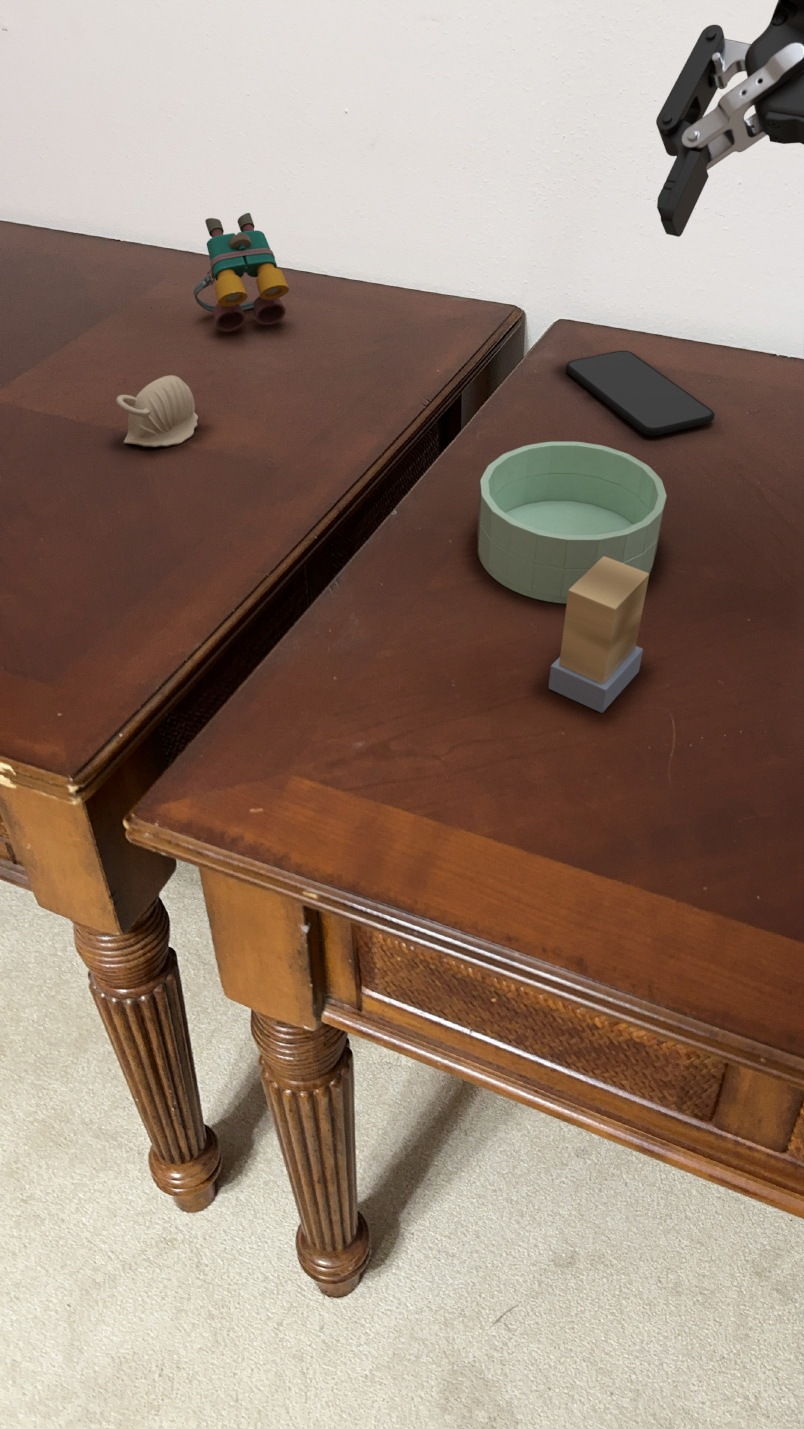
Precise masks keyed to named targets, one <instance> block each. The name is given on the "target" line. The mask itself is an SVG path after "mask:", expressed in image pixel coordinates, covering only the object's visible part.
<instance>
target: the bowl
mask: <svg viewBox="0 0 804 1429" xmlns="http://www.w3.org/2000/svg"><path fill="white" fill-rule="evenodd" d="M478 495H479V496H478V515H477V533H476V534H477V535H476V537H477V539H476V540H477V545H476V546H477V548H476V549H477V556H478V558H479V561H480V563H481V565H482V566H483V568H484V569H485V571H486V572H487V573H488V574H489V576H490V577H492V578H493V579H494V580H495V581H496V582H498V583H499V584H500V585H501V586H504V587H506V588H507V589H509V590H510V591H513V592H515V593H517V594H520V595H521V596H525V597H529V598H531V599H534V600H539V601H542V602H548V603H555V604H566V605H567V598H568V590H569V589H570V588H571V587H572V586H573V585H574V584H575V583H576V582H577V581H578V580H579V579H580V578H581V577H582V576H583V575H584V574H586V573H587V572H588V571H589V570H590V569H591V568H592V567H593V566H594V565H595V564H596V563H597V562H598V561H599V560H600V559H601V558H602V557H603V556H605V557H608V558H610V559H613V560H615V561H618V562H621V563H623V564H626V565H628V566H631V567H634V568H636V569H639V570H641V571H644V572H646V573H649V575H650V574H651V572H652V569H653V567H654V563H655V558H656V555H657V550H658V545H659V540H660V534H661V530H662V525H663V524H662V523H663V518H664V513H665V507H666V503H667V497H668V495H667V492H666V489H665V486H664V483H663V480H662V478H660V476H659V475H658V474H657V473H656V472H655V471H654V470H653V469H652V468H651V467H650V465H647V464H646V463H645V462H644V461H641V460H640V459H638V458H636V457H634V456H633V455H631V454H630V453H626V452H623V451H621V450H617V449H615V448H612V447H609V446H606V445H602V444H595V443H589V442H583V441H544V442H537V443H532V444H526V445H523V446H521V447H518V448H517V447H516V448H515V449H512V450H510V451H507V452H505V453H502V454H501V455H500V456H499V457H497V458H496V459H494V460H493V461H492V462H491V463H489V464H488V465H487V466H486V469H485V470H484V472H483V474H482V475H481V478H480V481H479V494H478Z"/></svg>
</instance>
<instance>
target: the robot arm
mask: <svg viewBox="0 0 804 1429" xmlns="http://www.w3.org/2000/svg"><path fill="white" fill-rule="evenodd" d="M742 72H746V73H745V74H746V77H747V78H745V79H744V80H743V81H741V82H740V83H738V84H737V85H735V86H734V87H733V88H731V89H730V90H729V91H728V92H726V93H724V94H723V95H722V96H721V97H720V98H719V99H718V102H717V105H716V106H715V108H714V109H712V110H711V111H710V112H708V113H707V114H706V112H707V110H708V108H709V106H710V104H711V103H712V100H713V99H714V97H715V95H716V93H717V92H718V89H719V90H725V89H726V88H727V86H728V84H729V82H730V81H731V80H732V78H733V77H735V75H737V74H738V73H742ZM751 107H754V112H755V113H753V114H752V115H751V116H749V117H747V118H746V119H745V115H746V113H747V112H748V111H749V110H750V108H751ZM705 114H706V115H705ZM655 124H656V127H657V130H658V132H659V136H660V138H661V139H660V140H661V141H662V144H663V147H664V150H665V153H666V154H667V155H669V156H670V157H675V160H674V162H673V164H672V166H671V168H670V170H669V173H668V175H667V177H666V180H665V182H664V184H663V185H662V188H661V190H660V192H659V194H658V197H657V203H656V208H657V211H658V213H659V216H660V222H661V225H662V227H663V229H664V232H665V234H666V235H669V236H674V237H677V238H680V237H681V236H682V235H683V233H684V231H685V229H686V227H687V224H688V222H689V221H690V218H691V216H692V214H693V211H694V210H695V207H696V205H697V203H698V200H699V198H700V196H701V194H702V192H703V190H704V188H705V186H706V183H707V182H708V179H709V173H708V171H709V170H710V169H711V168H712V167H714V166H715V165H717V164H718V163H720V162H721V161H723V160H724V159H726V158H727V157H728V156H730V155H731V154H733V153H742V152H745V151H746V150H747V149H749V148H750V147H752V146H754V145H755V144H756V143H757V142H759V141H761V140H762V139H764V138H765V137H766V136H768V139H769V142H770V143H777V144H780V145H781V144H782V145H787V144H801V145H804V0H777V3H776V5H775V8H774V11H773V14H772V16H771V18H770V21H769V23H768V25H767V27H766V28H765V29H764V31H763V32H762V33H761V34H760V35H759V36H758V37H756V39H755V40H753V41H752V43H748V42H742V41H738V40H733V39H730V38H729V39H728V38H726V37H725V34H724V30H723V27H722V26H721V25H719V24H710V25H708V26H706V27H705V28H704V29H703V30H702V31H701V33H700V35H699V37H698V38H697V40H696V42H695V44H694V46H693V48H692V50H691V52H690V53H689V56H688V57H687V59H686V61H685V63H684V65H683V67H682V69H681V71H680V73H679V75H678V77H677V79H676V80H675V83H674V85H673V86H672V87H671V90H670V92H669V94H668V96H667V98H666V100H665V101H664V103H663V105H662V107H661V109H660V111H659V113H658V115H657V117H656V120H655Z"/></svg>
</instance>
